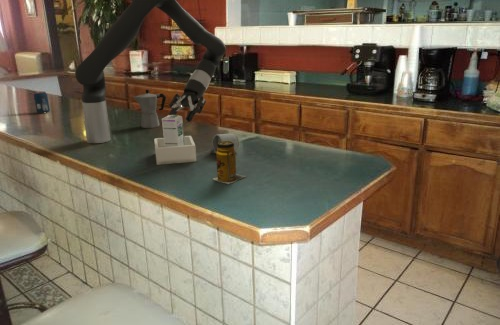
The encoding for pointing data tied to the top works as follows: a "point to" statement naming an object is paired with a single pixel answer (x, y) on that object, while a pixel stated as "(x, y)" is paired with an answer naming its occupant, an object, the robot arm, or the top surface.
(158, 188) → the top surface
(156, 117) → the coffeepot
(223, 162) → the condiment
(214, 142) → the ceramic mug
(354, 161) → the top surface
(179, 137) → the syrup box
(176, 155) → the bin
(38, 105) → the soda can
